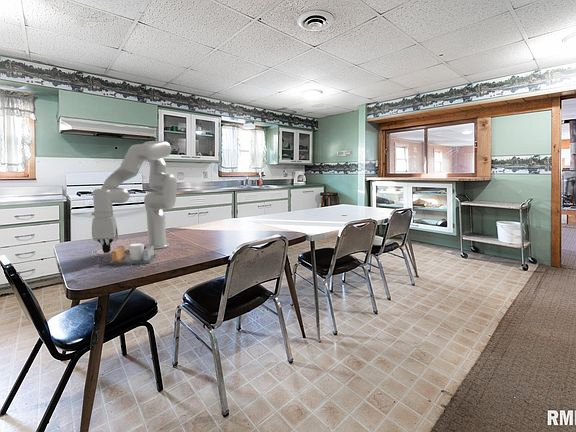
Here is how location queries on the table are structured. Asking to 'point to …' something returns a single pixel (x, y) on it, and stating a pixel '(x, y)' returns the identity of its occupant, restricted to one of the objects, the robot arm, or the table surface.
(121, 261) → the vise base
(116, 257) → the slide jaw
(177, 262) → the table surface
